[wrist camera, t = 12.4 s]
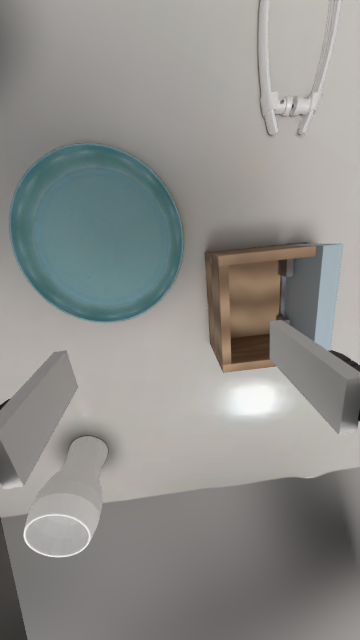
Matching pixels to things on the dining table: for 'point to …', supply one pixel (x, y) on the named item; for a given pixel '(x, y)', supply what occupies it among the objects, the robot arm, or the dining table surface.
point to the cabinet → (247, 301)
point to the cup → (69, 502)
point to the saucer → (96, 232)
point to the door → (314, 293)
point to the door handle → (309, 105)
